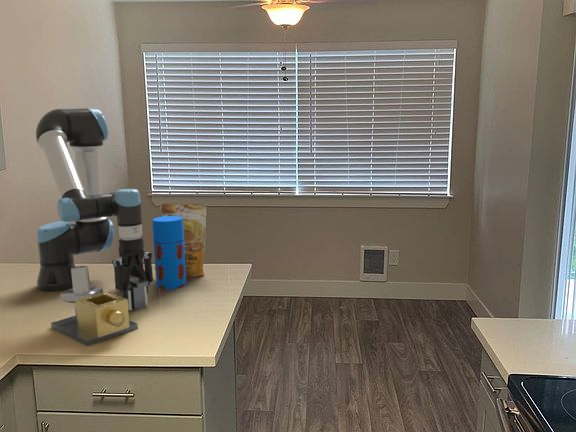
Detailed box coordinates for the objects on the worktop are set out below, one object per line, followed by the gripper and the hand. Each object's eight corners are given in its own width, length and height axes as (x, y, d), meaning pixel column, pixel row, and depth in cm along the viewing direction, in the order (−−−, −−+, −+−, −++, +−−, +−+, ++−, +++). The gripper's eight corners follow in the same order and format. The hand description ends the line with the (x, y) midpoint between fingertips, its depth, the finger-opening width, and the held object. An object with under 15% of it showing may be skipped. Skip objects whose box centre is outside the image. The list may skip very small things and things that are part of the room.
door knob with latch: (49, 326, 165) (43, 270, 162) (98, 311, 177) (93, 259, 173) (94, 349, 148) (88, 287, 145) (144, 331, 160) (140, 273, 157)
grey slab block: (122, 305, 182) (119, 278, 180) (132, 302, 185) (130, 275, 183) (139, 312, 176) (137, 284, 174) (150, 309, 178) (148, 281, 177)
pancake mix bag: (167, 270, 222) (163, 202, 217) (211, 273, 217) (208, 203, 212) (159, 275, 215) (154, 205, 210) (204, 278, 211) (201, 206, 206)
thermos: (172, 291, 196) (167, 222, 191) (150, 287, 201) (145, 220, 197) (192, 283, 205) (189, 217, 200) (171, 279, 210) (167, 215, 206)
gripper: (111, 244, 167) (118, 317, 171) (161, 233, 180) (166, 301, 184) (98, 241, 171) (105, 312, 176) (148, 231, 185) (153, 297, 189)
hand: (136, 306), depth 180 cm, fingers open, 5 cm apart
